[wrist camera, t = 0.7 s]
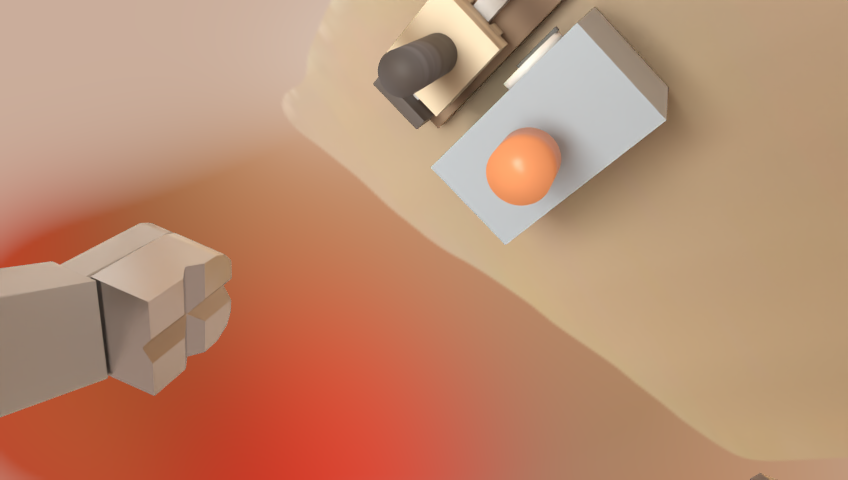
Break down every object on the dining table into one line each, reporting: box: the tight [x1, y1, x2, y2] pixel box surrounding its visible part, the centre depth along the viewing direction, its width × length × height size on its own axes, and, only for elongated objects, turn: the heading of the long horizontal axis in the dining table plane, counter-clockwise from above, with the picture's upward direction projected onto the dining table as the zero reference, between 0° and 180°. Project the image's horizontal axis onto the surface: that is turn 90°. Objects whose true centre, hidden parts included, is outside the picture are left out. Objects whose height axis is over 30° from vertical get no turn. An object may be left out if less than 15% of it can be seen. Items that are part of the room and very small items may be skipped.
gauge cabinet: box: [431, 7, 668, 245], centre depth 42 cm, size 14×9×9 cm, turn 139°
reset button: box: [486, 127, 561, 206], centre depth 35 cm, size 4×4×3 cm
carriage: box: [378, 0, 508, 116], centre depth 40 cm, size 7×6×11 cm
